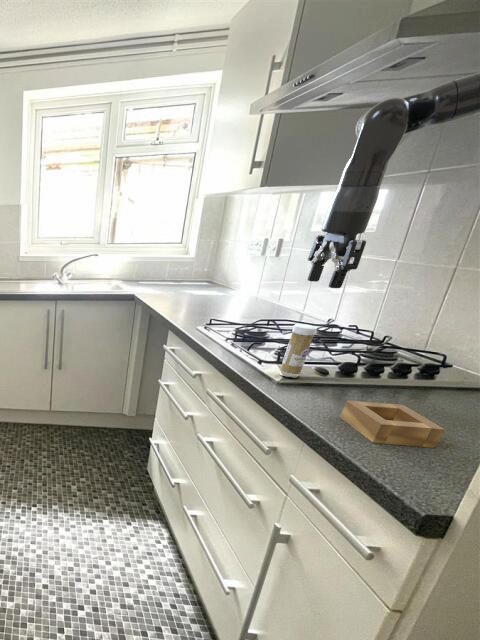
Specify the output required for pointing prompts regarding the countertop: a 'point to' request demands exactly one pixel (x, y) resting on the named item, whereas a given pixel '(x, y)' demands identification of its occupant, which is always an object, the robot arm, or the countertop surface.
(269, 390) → the countertop surface
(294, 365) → the sprinkles bottle
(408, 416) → the holder
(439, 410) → the countertop surface
